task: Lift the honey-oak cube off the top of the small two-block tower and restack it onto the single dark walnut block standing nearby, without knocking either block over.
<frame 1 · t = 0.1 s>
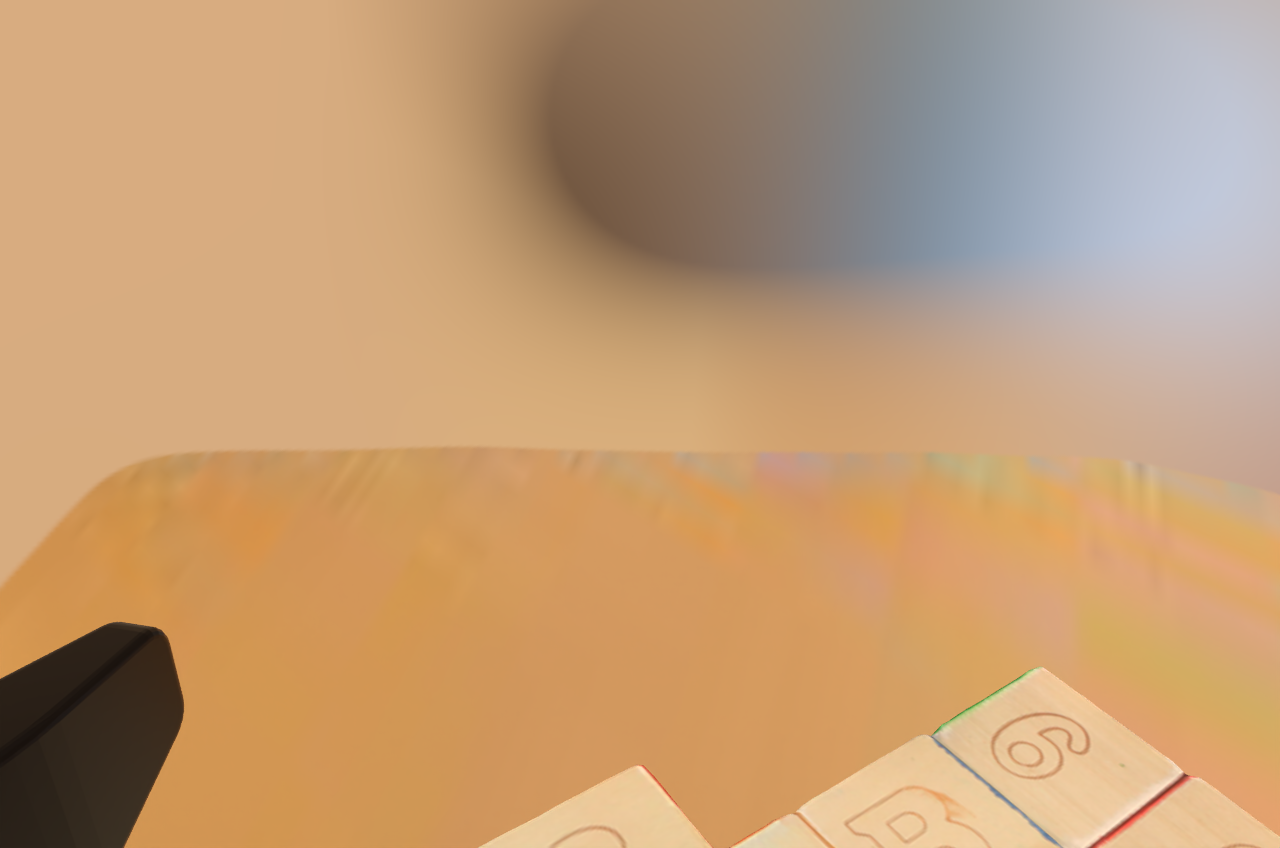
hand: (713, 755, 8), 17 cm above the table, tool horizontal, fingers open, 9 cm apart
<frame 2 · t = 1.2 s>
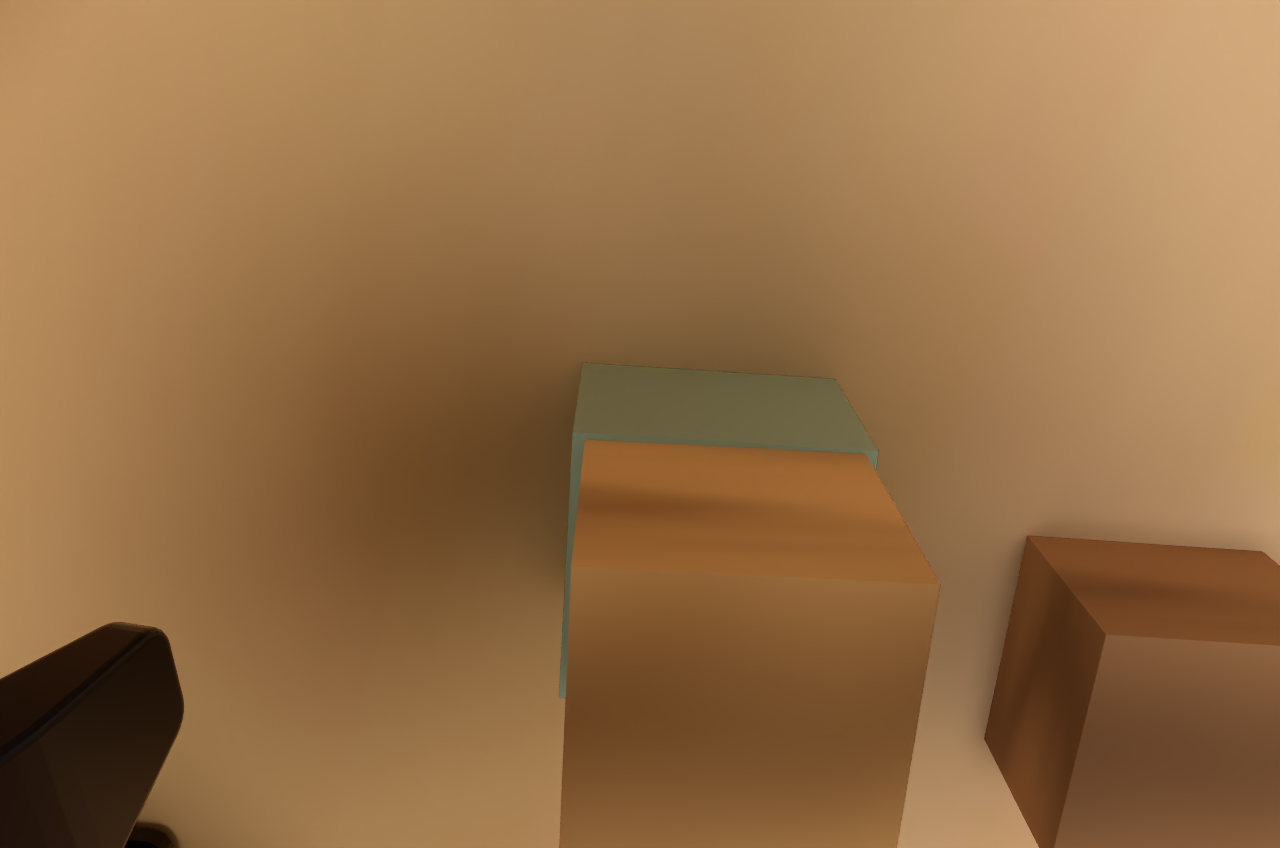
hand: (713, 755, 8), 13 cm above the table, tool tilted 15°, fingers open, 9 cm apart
oak cube: (714, 572, 18), point 4 cm above the table, touching tower base
tower base: (698, 485, 22), on the table, touching oak cube
walnut block: (1116, 645, 23), on the table
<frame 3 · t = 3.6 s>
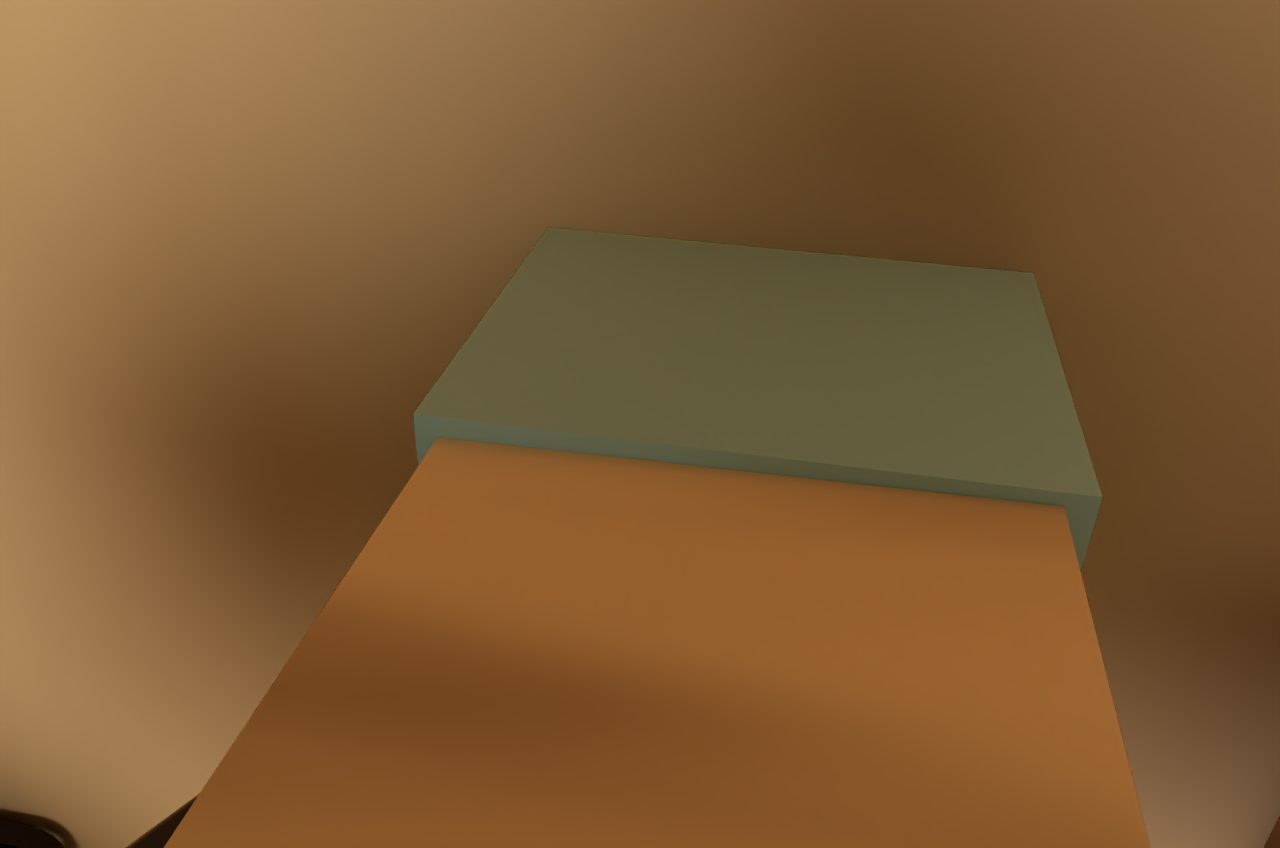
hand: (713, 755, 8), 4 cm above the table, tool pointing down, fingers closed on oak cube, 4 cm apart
oak cube: (721, 700, 9), point 4 cm above the table, touching gripper
tower base: (763, 447, 12), on the table
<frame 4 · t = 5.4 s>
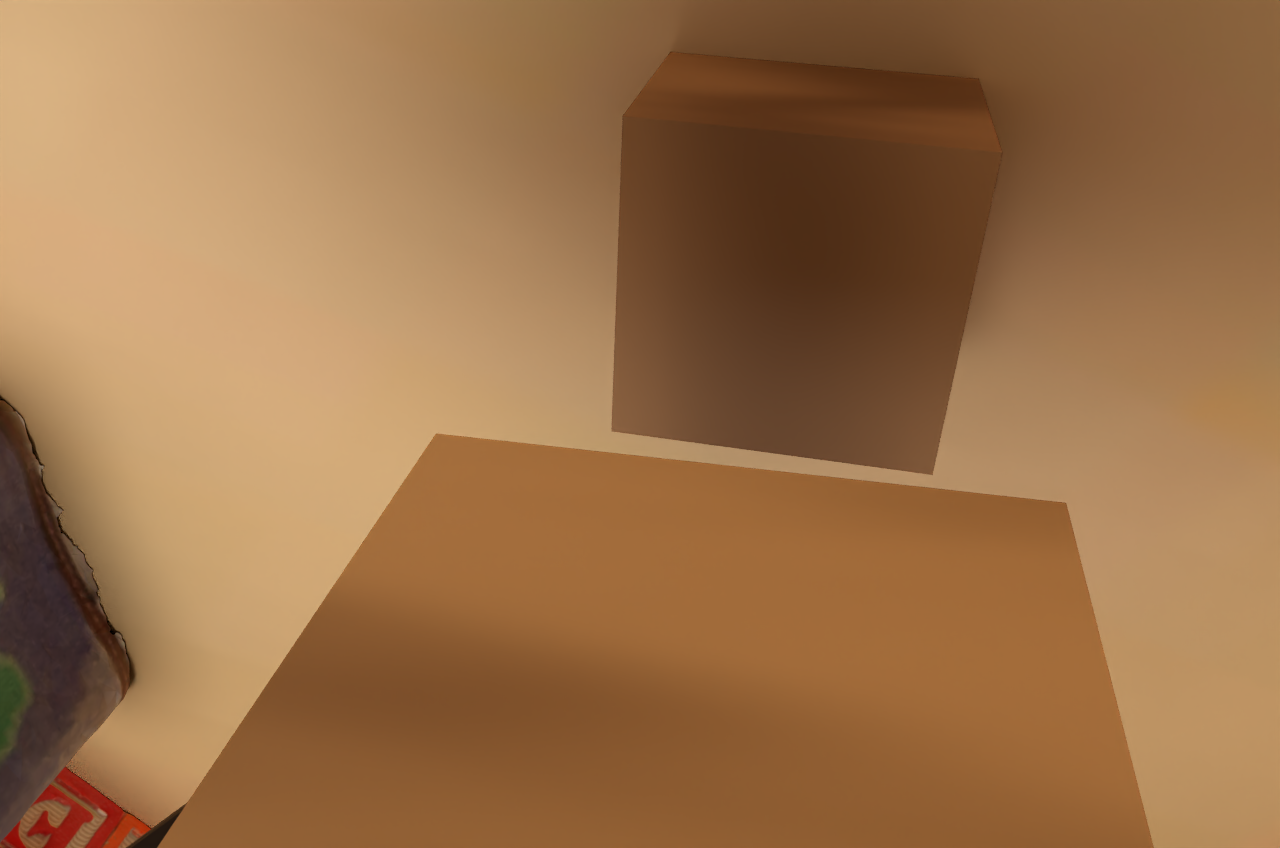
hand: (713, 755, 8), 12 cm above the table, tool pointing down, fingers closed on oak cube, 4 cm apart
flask: (40, 543, 26), on the table
oak cube: (721, 698, 9), point 11 cm above the table, touching gripper
walnut block: (803, 208, 19), on the table
when the fingers open (6 cm above the table, at t = 7.2 s): oak cube drops 1 cm, point 4 cm above the table.
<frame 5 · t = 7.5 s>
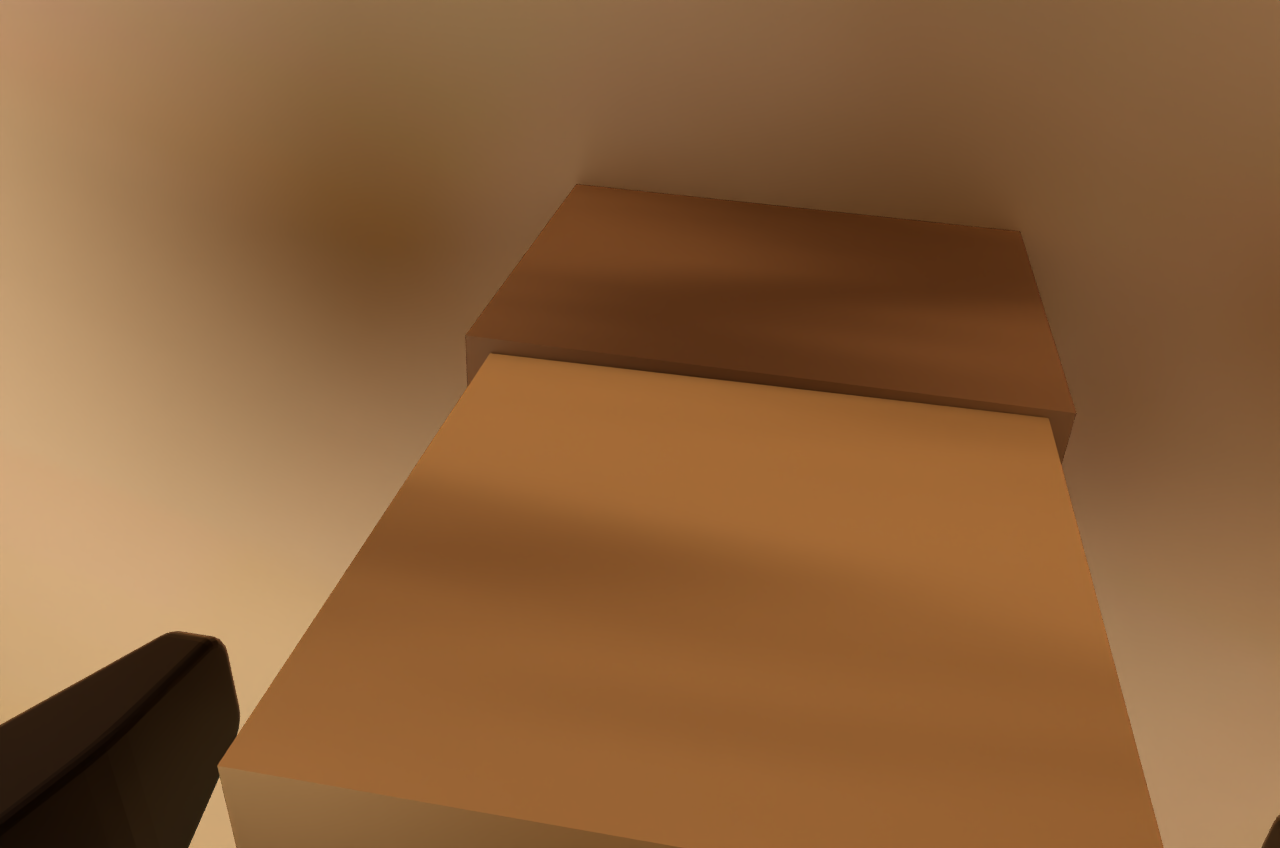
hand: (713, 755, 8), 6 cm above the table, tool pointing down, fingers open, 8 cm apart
oak cube: (737, 600, 10), point 4 cm above the table
walnut block: (769, 395, 13), on the table
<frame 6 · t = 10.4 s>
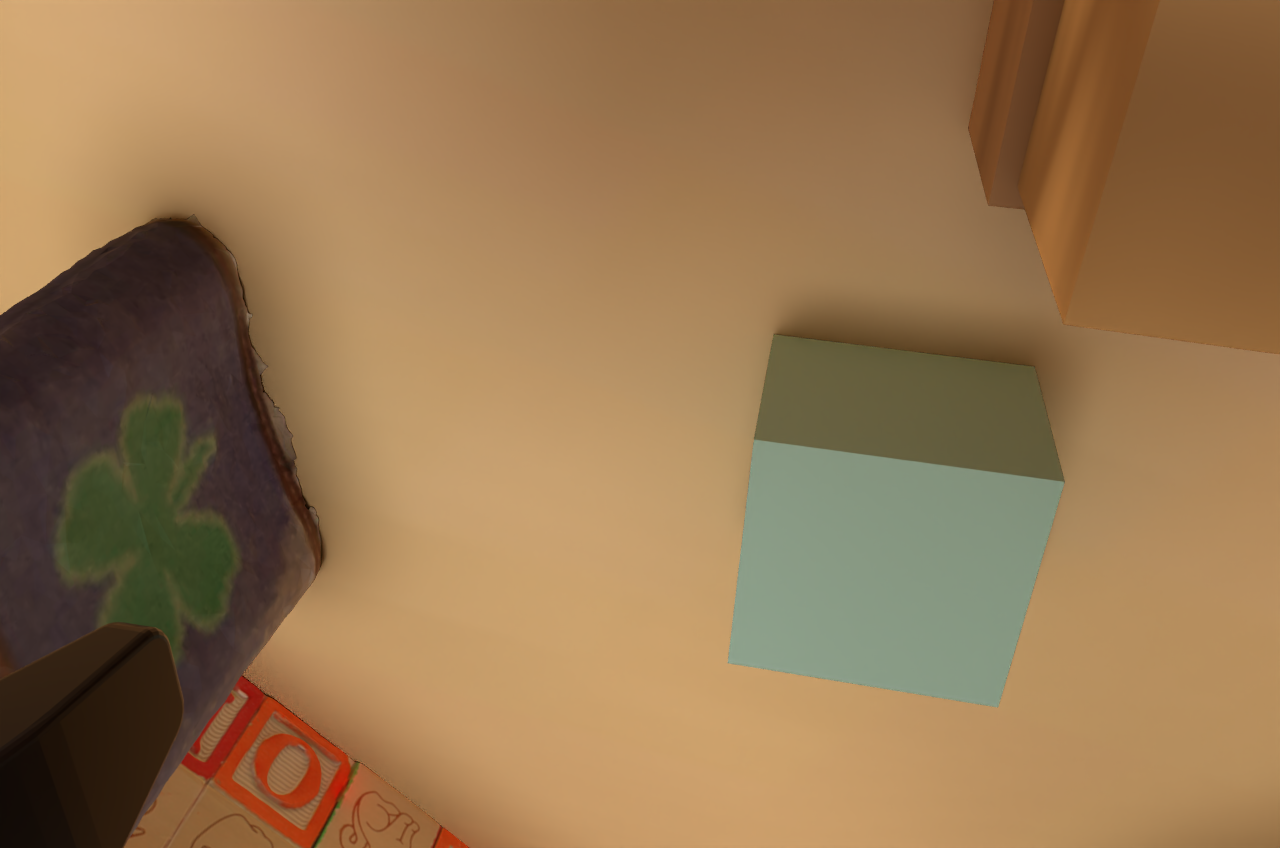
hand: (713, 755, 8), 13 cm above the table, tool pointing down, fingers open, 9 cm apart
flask: (235, 407, 24), on the table
oak cube: (1245, 35, 13), point 4 cm above the table, touching walnut block
tower base: (881, 455, 22), on the table
stack of blocks: (259, 765, 31), on the table
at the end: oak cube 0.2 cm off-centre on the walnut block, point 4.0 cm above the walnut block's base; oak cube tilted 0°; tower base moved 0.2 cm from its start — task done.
